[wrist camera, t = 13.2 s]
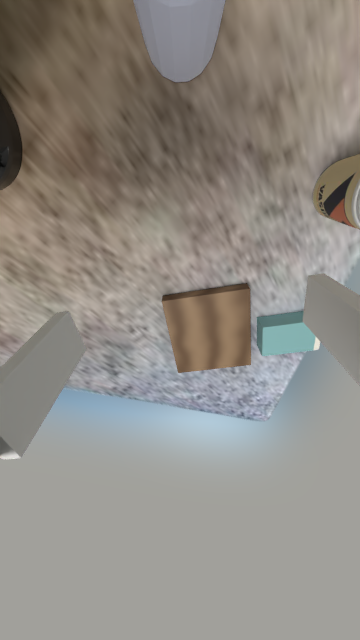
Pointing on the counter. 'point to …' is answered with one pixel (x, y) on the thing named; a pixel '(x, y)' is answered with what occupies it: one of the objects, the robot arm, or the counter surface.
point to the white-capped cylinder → (340, 192)
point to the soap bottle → (180, 34)
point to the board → (210, 327)
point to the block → (284, 334)
